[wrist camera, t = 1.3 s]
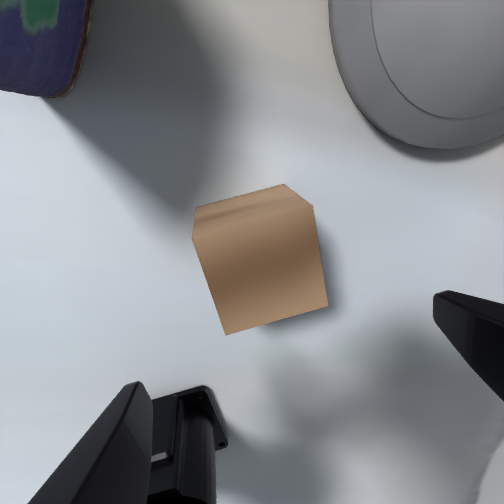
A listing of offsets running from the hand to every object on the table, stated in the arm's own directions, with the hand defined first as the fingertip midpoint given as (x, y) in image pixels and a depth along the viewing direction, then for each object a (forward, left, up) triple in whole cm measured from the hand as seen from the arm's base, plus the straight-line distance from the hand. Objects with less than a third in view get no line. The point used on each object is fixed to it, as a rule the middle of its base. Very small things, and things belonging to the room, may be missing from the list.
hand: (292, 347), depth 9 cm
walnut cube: (0, 0, -10) cm, 10 cm away
